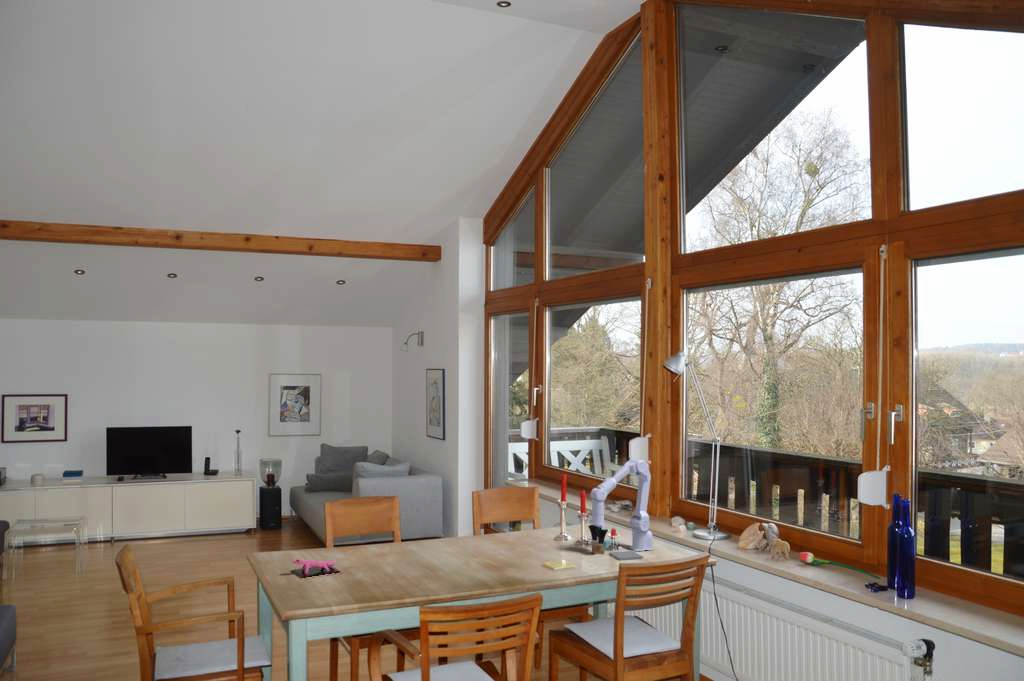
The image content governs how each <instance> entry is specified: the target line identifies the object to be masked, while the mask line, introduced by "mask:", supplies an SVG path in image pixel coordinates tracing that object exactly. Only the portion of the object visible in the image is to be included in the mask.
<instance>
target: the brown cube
mask: <svg viewBox="0 0 1024 681" xmlns="http://www.w3.org/2000/svg"><path fill="white" fill-rule="evenodd" d="M591 553H592V554H593V553H594V555H595V554H599V555H605V549H604V546H603V545H602V544H599V543H596V544H595V543H593V544H591Z"/></svg>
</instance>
